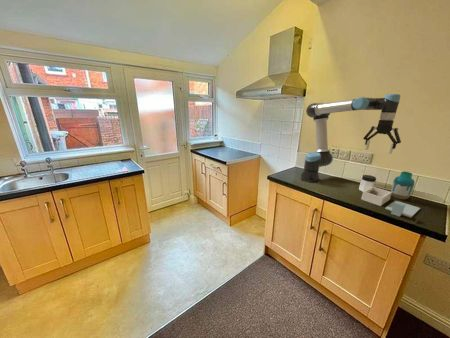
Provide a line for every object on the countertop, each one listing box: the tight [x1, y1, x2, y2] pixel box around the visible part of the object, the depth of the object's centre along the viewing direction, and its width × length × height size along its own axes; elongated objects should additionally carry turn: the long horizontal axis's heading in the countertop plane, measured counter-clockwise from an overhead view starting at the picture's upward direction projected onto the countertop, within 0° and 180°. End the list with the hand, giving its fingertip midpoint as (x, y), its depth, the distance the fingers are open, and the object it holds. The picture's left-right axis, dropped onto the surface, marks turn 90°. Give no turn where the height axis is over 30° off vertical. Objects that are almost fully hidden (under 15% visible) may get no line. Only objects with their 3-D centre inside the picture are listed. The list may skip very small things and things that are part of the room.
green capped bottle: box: [390, 171, 415, 201], centre depth 130 cm, size 11×11×19 cm
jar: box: [358, 174, 377, 193], centre depth 141 cm, size 9×8×12 cm
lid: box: [385, 200, 421, 219], centre depth 115 cm, size 12×22×8 cm, turn 124°
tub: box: [360, 186, 392, 207], centre depth 128 cm, size 11×16×6 cm
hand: (377, 151), depth 130 cm, fingers open, 13 cm apart
